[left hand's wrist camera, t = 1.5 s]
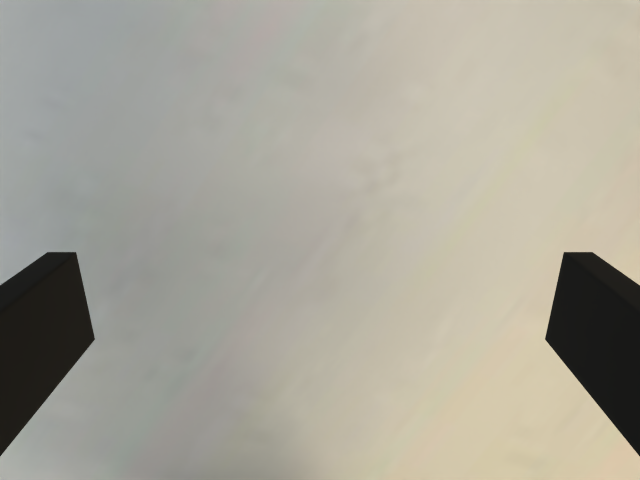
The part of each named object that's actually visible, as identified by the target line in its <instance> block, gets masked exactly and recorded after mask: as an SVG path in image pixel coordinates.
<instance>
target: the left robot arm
mask: <svg viewBox="0 0 640 480" xmlns="http://www.w3.org/2000/svg"><path fill="white" fill-rule="evenodd" d="M94 340H95V338H94V333H93V329H92V324H91V319H90V315H89V310H88V305H87V301H86V296H85V291H84V287H83V282H82V277H81V273H80V268H79V264H78V259H77V254H76V252H47V253H46V254H44V255H43V256H42V257H40V258H39V259H37V260H36V261H35V262H33V263H32V264H30V265H29V266H27V267H26V268H25V269H23V270H22V271H20V272H19V273H17V274H16V275H15V276H13V277H12V278H10V279H9V280H7V281H6V282H5V283H3V284H2V285H0V456H1V455H2V453H3V452H4V451H5V450H6V449H7V447H8V446H9V445H10V444H11V442H12V441H13V440H14V439H15V437H16V436H17V435H18V434H19V432H20V431H21V430H22V429H23V428H24V426H25V425H26V424H27V423H28V421H29V420H30V419H31V418H32V416H33V415H34V414H35V413H36V411H37V410H38V409H39V408H40V406H41V405H42V404H43V403H44V402H45V400H46V399H47V398H48V397H49V395H50V394H51V393H52V392H53V390H54V389H55V388H56V387H57V385H58V384H59V383H60V382H61V381H62V379H63V378H64V377H65V376H66V374H67V373H68V372H69V371H70V369H71V368H72V367H73V366H74V364H75V363H76V362H77V361H78V360H79V358H80V357H81V356H82V355H83V353H84V352H85V351H86V350H87V348H88V347H89V346H90V345H91V343H92V342H93V341H94ZM545 340H546V341H547V342H548V343H549V345H550V346H551V347H552V348H553V350H554V351H555V352H556V353H557V355H558V356H559V357H560V358H561V360H562V361H563V362H564V363H565V364H566V366H567V367H568V368H569V369H570V371H571V372H572V373H573V374H574V376H575V377H576V378H577V379H578V381H579V382H580V383H581V384H582V385H583V387H584V388H585V389H586V390H587V392H588V393H589V394H590V395H591V397H592V398H593V399H594V400H595V402H596V403H597V404H598V405H599V406H600V408H601V409H602V410H603V411H604V413H605V414H606V415H607V416H608V418H609V419H610V420H611V421H612V423H613V424H614V425H615V426H616V428H617V429H618V430H619V431H620V432H621V434H622V435H623V436H624V437H625V439H626V440H627V441H628V442H629V444H630V445H631V446H632V447H633V449H634V450H635V451H636V452H637V453H638V455H639V456H640V285H638V284H637V283H635V282H634V281H633V280H631V279H630V278H628V277H627V276H625V275H624V274H623V273H621V272H620V271H618V270H617V269H615V268H614V267H613V266H611V265H610V264H608V263H607V262H605V261H604V260H603V259H601V258H600V257H598V256H597V255H596V254H594V253H593V252H564V254H563V259H562V264H561V268H560V273H559V277H558V282H557V287H556V291H555V296H554V301H553V305H552V310H551V315H550V319H549V324H548V329H547V333H546V338H545Z"/></svg>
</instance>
